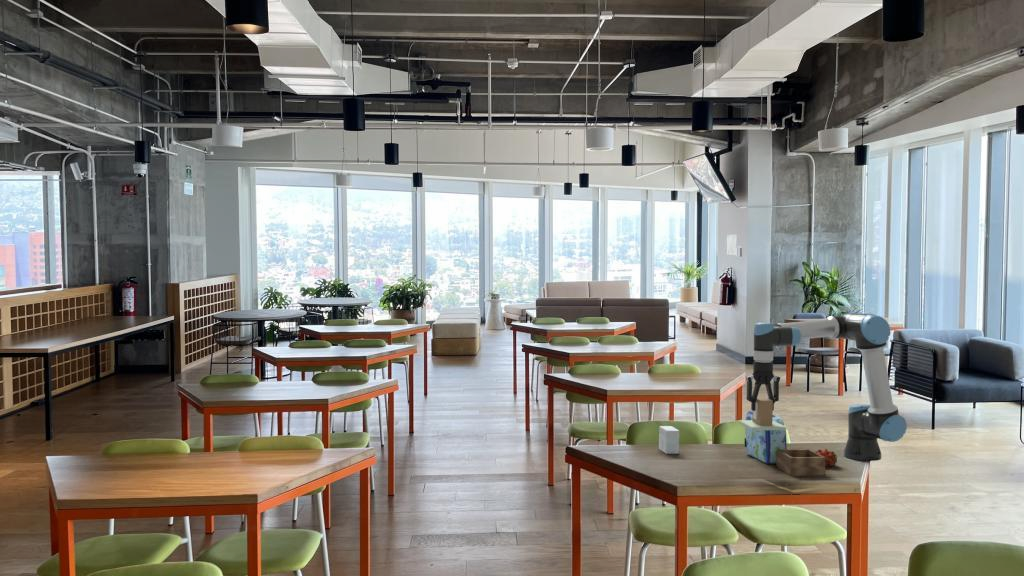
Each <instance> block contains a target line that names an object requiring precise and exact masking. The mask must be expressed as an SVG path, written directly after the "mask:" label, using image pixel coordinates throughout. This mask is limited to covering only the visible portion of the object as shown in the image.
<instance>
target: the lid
mask: <svg viewBox="0 0 1024 576" xmlns="http://www.w3.org/2000/svg"><path fill="white" fill-rule="evenodd" d="M756 403H758V419H754V418H753V420H745V419H744V420H743V419H741V420H740V419H739V420H738V423H739V424H740V425H741V426H743V427H747V428H748V429H750V430H786V431H787V426H786V425H785V426H783V425H781V424H779V423H777V422H775V421H773V420H772V415H773V414H774V412H773V411H774V410H773V401H772V400H770V399H769V398H767V397H766V396H765V397H764V396H757V400H756Z"/></svg>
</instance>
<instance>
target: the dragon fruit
mask: <svg viewBox="0 0 1024 576" xmlns="http://www.w3.org/2000/svg"><path fill="white" fill-rule="evenodd" d="M815 452H816V453H818V454H820V455H822V456H823V457H825V469H827V468H829V467H832V466H837V462H838V460H837V459H838V455H837V454H836V453H835V452H834V451H832V450H830V451H829V450H828V449H827V448H824V449H823V450H822V449H818V450H817V451H815Z"/></svg>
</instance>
